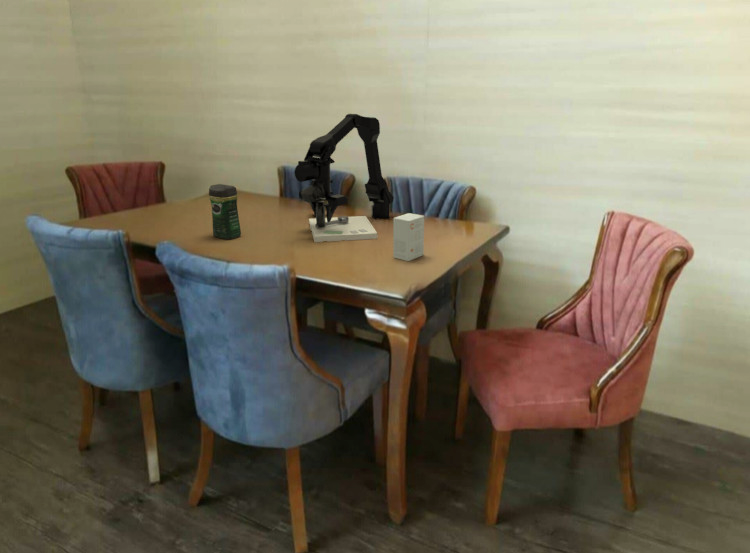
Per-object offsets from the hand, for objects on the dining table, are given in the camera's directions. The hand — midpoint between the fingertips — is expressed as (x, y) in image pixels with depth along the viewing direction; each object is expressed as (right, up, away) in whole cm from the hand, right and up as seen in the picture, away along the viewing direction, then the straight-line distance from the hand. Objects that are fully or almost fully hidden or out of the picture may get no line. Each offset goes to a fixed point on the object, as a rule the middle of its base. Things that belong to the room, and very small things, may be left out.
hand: (323, 220), depth 205 cm
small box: (+29, -14, -23) cm, 40 cm away
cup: (-4, +4, +26) cm, 27 cm away
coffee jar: (-34, -6, -1) cm, 35 cm away
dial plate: (+6, -3, +5) cm, 9 cm away
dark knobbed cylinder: (+3, -1, +4) cm, 5 cm away
